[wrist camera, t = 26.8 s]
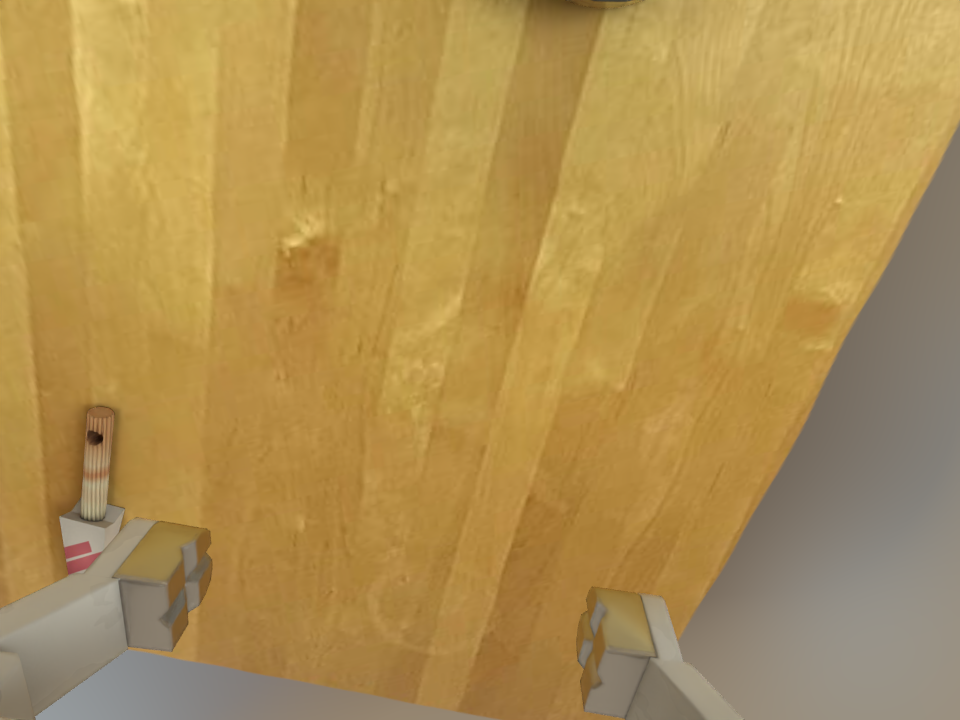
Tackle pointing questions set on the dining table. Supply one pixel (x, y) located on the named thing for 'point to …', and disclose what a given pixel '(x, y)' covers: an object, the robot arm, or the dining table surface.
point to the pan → (604, 3)
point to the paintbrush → (92, 498)
